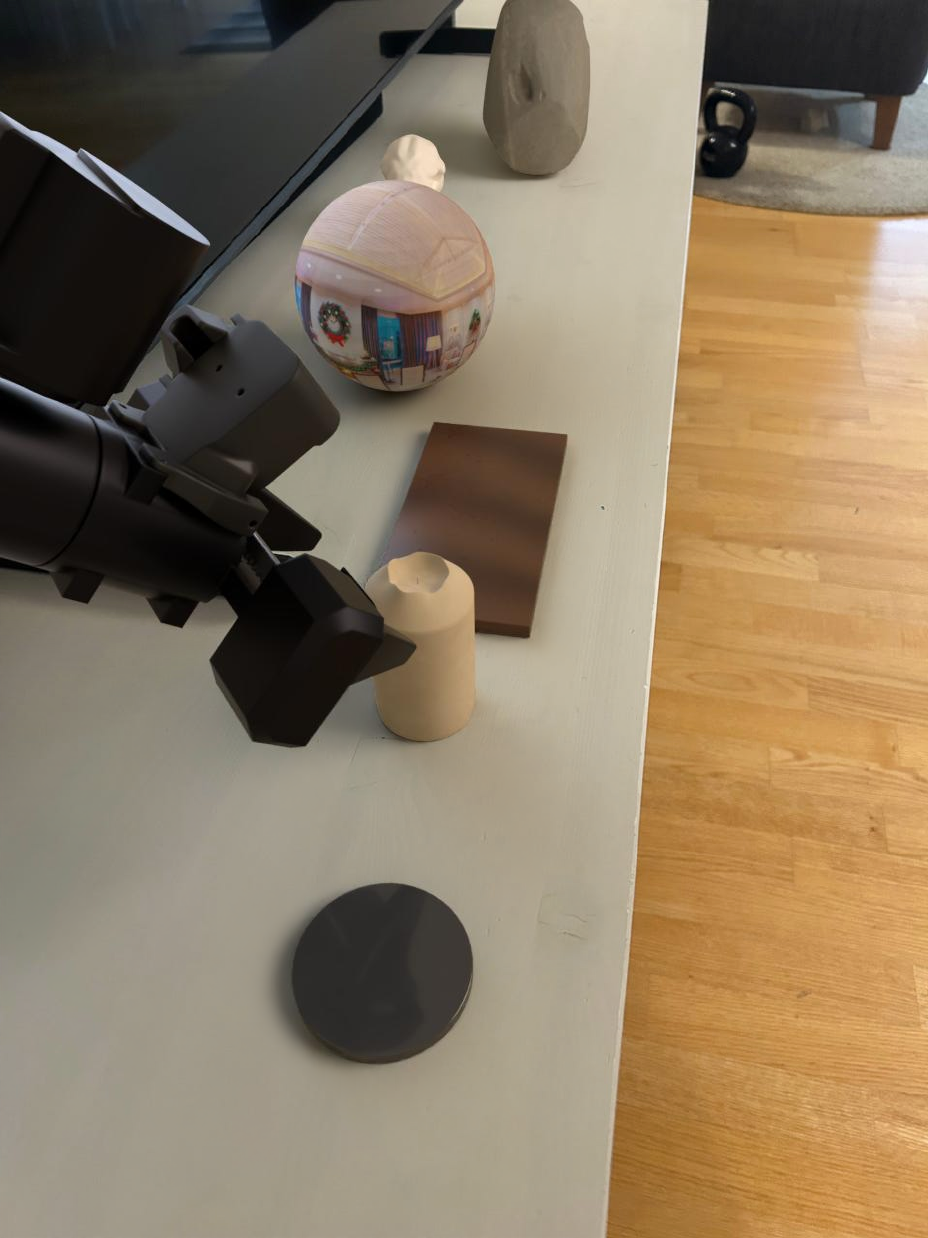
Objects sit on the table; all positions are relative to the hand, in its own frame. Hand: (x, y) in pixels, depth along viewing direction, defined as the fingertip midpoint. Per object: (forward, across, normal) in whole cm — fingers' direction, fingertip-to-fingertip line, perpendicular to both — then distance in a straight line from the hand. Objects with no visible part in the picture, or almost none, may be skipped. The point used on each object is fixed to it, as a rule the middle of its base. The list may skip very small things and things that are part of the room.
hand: (360, 593), depth 46 cm
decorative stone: (+47, +64, -32) cm, 86 cm away
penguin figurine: (+30, +52, -16) cm, 62 cm away
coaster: (+2, -12, +12) cm, 17 cm away
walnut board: (+17, +12, -3) cm, 21 cm away
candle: (+10, 0, +5) cm, 11 cm away
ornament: (+21, +30, -6) cm, 37 cm away
